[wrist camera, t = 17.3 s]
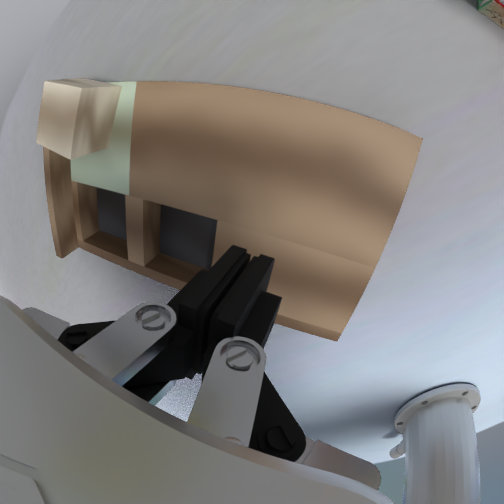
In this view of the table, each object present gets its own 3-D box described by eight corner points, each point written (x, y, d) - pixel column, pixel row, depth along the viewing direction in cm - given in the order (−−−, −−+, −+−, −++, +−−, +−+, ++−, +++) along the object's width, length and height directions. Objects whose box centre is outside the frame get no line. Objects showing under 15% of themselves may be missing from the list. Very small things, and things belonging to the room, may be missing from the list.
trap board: (338, 317, 23) (334, 365, 19) (91, 232, 27) (56, 255, 23) (409, 134, 15) (437, 143, 10) (90, 85, 19) (45, 89, 14)
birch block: (108, 147, 18) (70, 159, 15) (72, 133, 19) (36, 142, 15) (122, 86, 16) (81, 88, 12) (82, 78, 16) (44, 81, 12)
